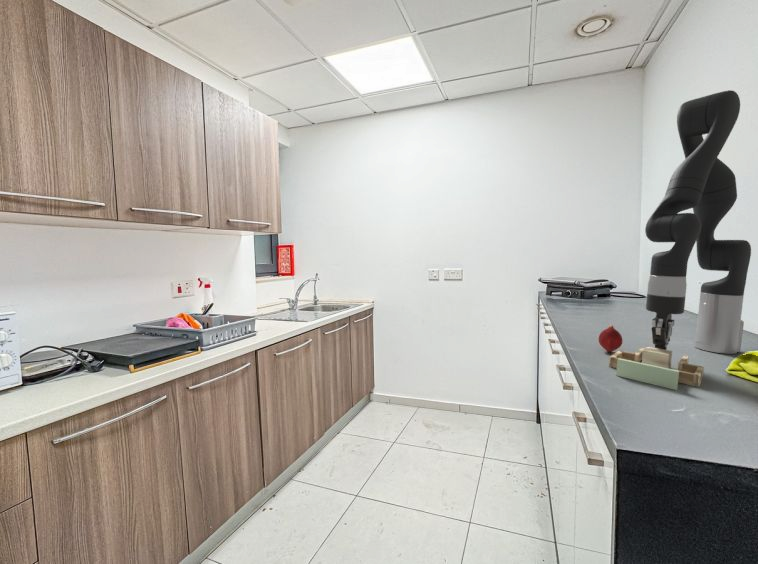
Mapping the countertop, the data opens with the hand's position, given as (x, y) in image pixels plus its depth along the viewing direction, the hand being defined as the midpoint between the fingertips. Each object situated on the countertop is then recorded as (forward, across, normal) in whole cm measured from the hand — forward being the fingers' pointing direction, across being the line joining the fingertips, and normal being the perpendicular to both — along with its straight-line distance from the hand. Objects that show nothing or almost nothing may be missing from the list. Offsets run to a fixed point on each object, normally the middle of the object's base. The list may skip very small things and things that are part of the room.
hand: (659, 359), depth 89 cm
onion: (+2, +4, +12) cm, 13 cm away
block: (+2, -5, 0) cm, 5 cm away
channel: (+2, -5, 0) cm, 6 cm away
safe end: (+1, -17, 0) cm, 17 cm away
